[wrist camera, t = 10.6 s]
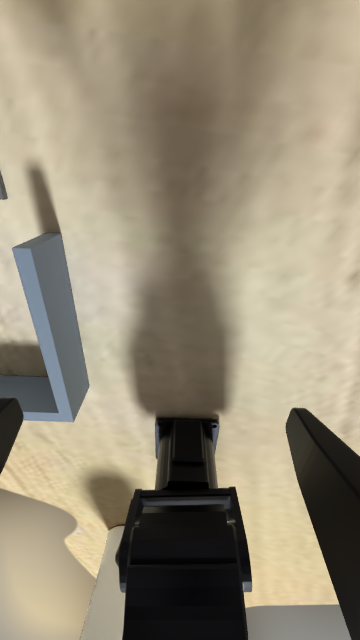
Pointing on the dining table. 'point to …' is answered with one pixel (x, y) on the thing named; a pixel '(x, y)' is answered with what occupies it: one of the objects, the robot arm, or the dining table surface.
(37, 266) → the open-front box
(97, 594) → the drinking glass
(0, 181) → the charcoal mat
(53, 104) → the dining table surface
